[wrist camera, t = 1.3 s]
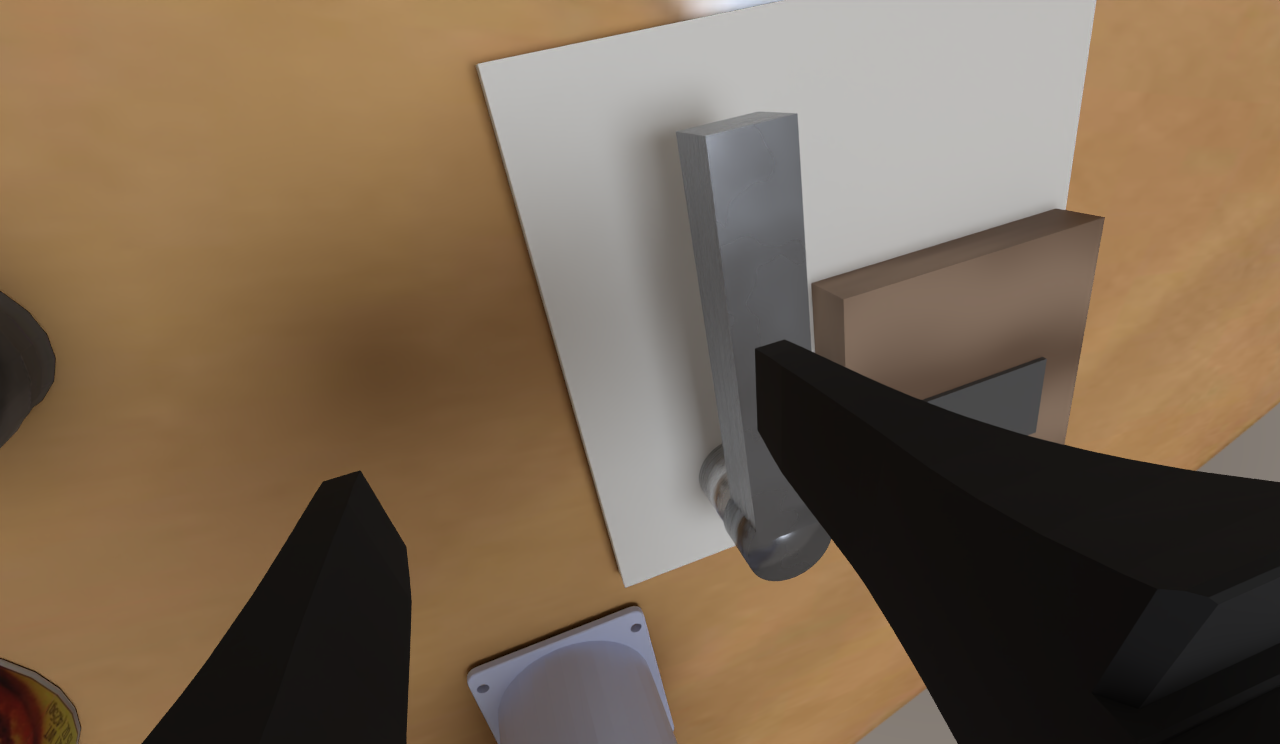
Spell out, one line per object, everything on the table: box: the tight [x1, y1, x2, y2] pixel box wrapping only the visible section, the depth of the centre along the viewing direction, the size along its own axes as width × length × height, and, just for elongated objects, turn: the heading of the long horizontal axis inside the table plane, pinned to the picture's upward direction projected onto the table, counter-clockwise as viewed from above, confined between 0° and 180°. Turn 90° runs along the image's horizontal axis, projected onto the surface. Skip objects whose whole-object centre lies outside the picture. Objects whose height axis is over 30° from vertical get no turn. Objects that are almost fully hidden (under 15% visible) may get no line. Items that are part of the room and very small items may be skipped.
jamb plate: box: [476, 0, 1096, 588], centre depth 23 cm, size 20×21×1 cm
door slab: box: [811, 209, 1105, 445], centre depth 24 cm, size 11×11×2 cm
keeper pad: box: [923, 357, 1047, 435], centre depth 24 cm, size 4×6×1 cm, turn 101°
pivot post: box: [699, 444, 731, 522], centre depth 23 cm, size 3×3×2 cm
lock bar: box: [676, 111, 831, 581], centre depth 18 cm, size 15×3×2 cm, turn 11°
